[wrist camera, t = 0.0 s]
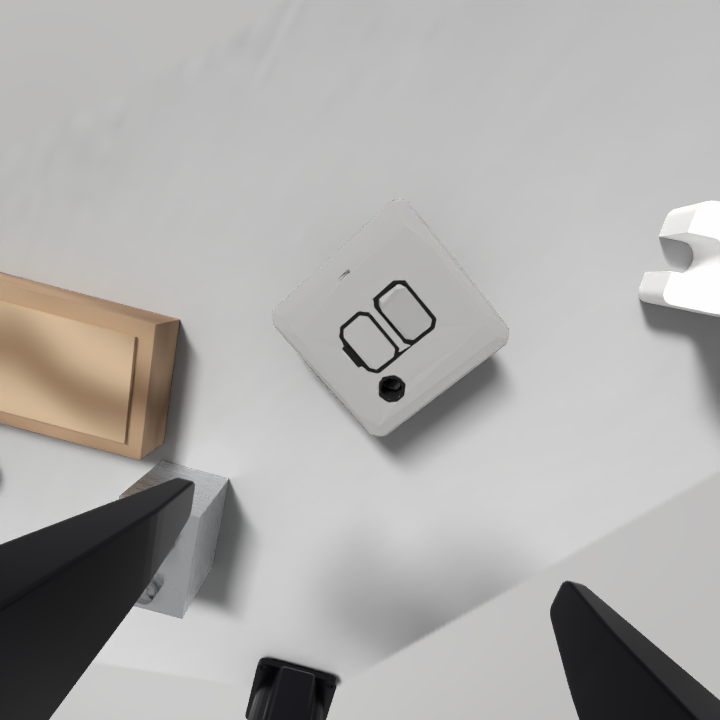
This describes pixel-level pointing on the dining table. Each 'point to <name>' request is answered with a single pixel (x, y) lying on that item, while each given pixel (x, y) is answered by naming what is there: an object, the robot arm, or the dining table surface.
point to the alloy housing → (185, 540)
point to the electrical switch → (390, 320)
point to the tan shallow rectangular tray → (84, 367)
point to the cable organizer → (706, 273)
